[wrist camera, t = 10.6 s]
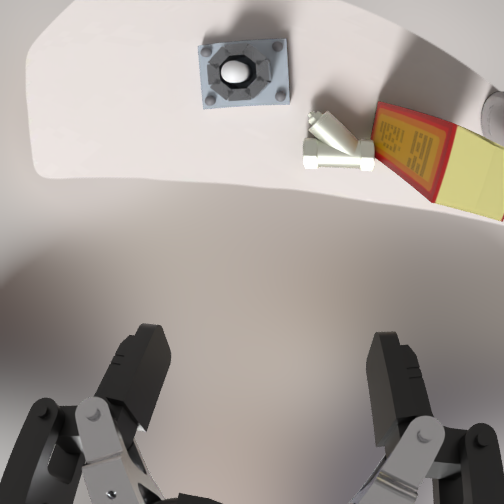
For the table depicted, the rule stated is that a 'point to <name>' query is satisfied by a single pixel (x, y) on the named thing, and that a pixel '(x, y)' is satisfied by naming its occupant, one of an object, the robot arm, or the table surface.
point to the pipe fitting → (335, 145)
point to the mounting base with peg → (247, 74)
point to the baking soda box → (441, 160)
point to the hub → (231, 54)
